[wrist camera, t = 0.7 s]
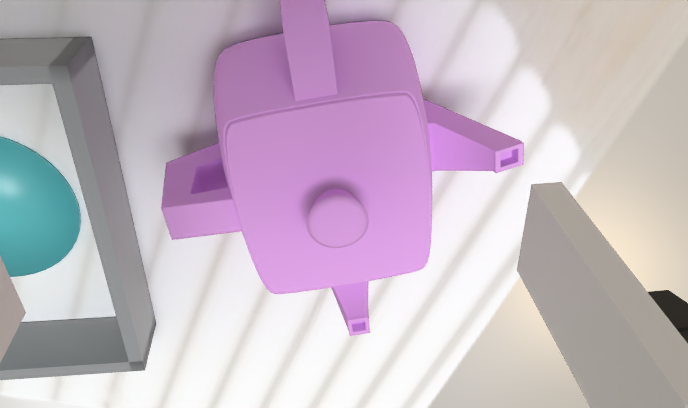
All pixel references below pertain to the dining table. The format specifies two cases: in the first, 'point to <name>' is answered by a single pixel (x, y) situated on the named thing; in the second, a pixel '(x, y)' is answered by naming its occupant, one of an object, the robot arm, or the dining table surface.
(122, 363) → the grey square tray
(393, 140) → the teakettle
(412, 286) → the dining table surface
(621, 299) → the robot arm
